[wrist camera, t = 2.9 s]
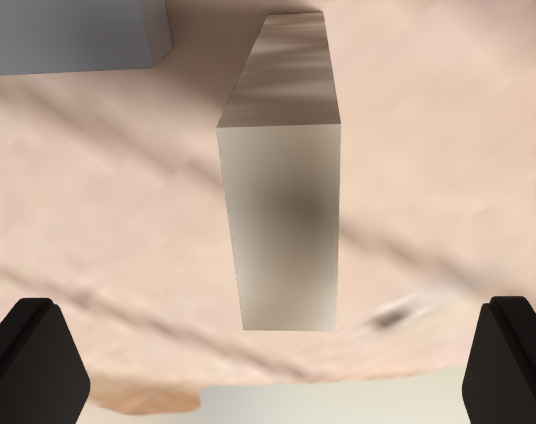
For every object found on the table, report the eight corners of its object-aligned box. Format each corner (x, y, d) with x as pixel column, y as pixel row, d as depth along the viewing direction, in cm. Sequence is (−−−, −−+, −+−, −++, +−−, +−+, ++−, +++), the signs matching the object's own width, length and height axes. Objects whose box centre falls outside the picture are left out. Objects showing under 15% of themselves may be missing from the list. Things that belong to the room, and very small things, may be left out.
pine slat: (323, 11, 24) (340, 123, 11) (323, 134, 28) (336, 331, 14) (267, 15, 24) (215, 127, 11) (274, 135, 28) (243, 330, 15)
